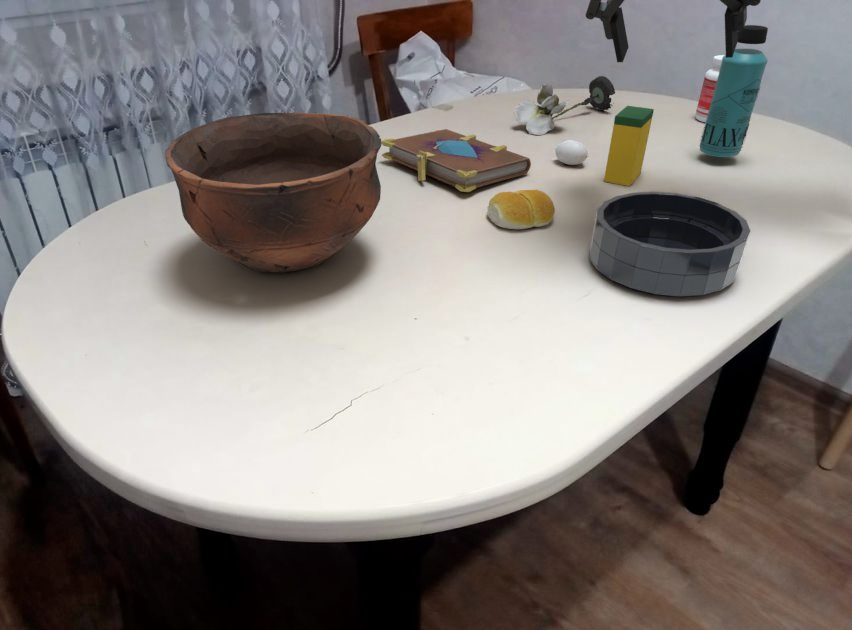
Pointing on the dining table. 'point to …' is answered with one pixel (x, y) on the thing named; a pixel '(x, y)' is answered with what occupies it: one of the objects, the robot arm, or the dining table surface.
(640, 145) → the sponge
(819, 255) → the dining table surface
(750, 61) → the beverage bottle
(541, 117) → the artificial flower
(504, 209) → the bread roll
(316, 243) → the bowl
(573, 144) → the egg
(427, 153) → the book
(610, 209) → the wash bowl
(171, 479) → the dining table surface
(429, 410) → the dining table surface
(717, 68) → the pill bottle
